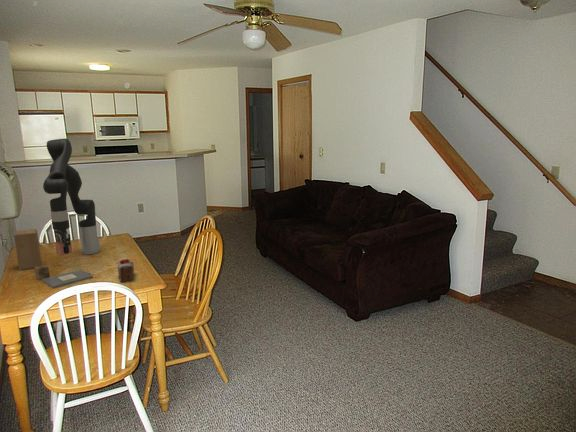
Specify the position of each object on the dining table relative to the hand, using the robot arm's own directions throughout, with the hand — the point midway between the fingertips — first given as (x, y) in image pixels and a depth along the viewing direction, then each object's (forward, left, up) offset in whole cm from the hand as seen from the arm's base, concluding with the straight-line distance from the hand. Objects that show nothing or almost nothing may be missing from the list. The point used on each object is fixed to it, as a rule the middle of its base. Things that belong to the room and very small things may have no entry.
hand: (64, 252), depth 207 cm
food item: (-21, +21, -15) cm, 33 cm away
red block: (0, 0, -1) cm, 1 cm away
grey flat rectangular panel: (0, 0, -15) cm, 15 cm away
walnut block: (+7, -13, -15) cm, 21 cm away
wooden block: (+5, -38, -15) cm, 41 cm away
